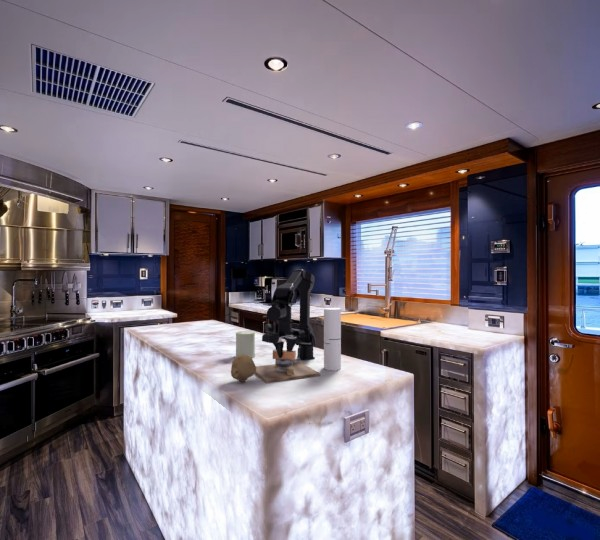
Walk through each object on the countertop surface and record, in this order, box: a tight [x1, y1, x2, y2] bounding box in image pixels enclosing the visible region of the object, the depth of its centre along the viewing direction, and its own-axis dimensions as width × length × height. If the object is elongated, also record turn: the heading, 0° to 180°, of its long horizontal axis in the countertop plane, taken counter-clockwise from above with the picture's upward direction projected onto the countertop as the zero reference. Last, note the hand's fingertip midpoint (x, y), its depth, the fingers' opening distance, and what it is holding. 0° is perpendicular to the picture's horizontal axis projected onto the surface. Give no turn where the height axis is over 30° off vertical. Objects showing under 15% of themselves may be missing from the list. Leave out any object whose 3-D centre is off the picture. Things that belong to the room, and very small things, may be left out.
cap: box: [272, 348, 297, 367], centre depth 143 cm, size 9×7×6 cm
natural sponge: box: [230, 354, 257, 383], centre depth 131 cm, size 9×9×10 cm
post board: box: [254, 361, 321, 384], centre depth 143 cm, size 22×20×3 cm
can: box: [235, 330, 256, 359], centre depth 171 cm, size 9×9×12 cm
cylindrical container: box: [323, 307, 342, 371], centre depth 150 cm, size 7×7×25 cm
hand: (284, 357), depth 143 cm, fingers closed on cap, 4 cm apart
